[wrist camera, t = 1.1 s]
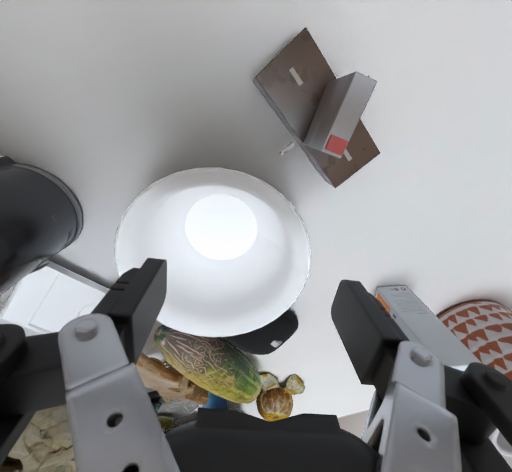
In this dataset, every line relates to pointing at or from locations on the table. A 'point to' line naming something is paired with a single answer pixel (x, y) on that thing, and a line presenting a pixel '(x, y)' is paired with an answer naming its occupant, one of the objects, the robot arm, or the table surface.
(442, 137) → the table surface
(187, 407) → the sculpture
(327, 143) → the tap handle
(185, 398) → the figurine
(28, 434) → the animal skull
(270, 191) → the bowl
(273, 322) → the computer mouse
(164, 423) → the soldier figurine
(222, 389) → the vegetable
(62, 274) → the light switch
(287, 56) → the base
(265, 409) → the fruit
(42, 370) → the robot arm
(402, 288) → the cosmetic box
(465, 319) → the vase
